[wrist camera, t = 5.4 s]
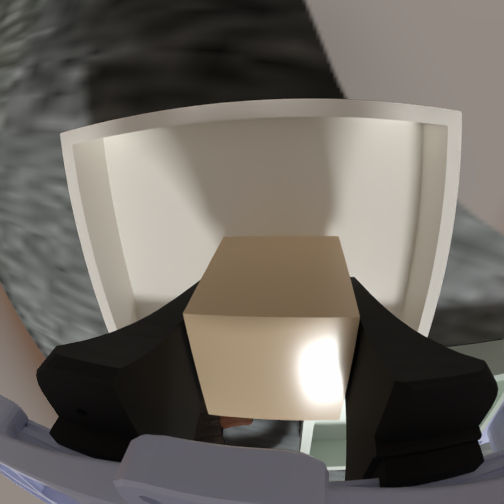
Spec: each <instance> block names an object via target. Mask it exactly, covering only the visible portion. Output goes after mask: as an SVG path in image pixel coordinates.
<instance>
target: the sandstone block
mask: <svg viewBox="0 0 504 504" xmlns="http://www.w3.org/2000/svg"><path fill="white" fill-rule="evenodd" d="M183 316H184V321H185V325H186V329H187V334H188V338H189V342H190V346H191V350H192V354H193V358H194V362H195V366H196V370H197V374H198V378H199V382H200V385H201V389H202V393H203V396H204V400H205V403H206V407H207V410H208V414H210V415H219V416H229V417H240V418H254V419H271V420H339V419H340V415H341V411H342V406H343V402H344V398H345V393H346V389H347V384H348V380H349V375H350V370H351V365H352V360H353V355H354V349H355V344H356V338H357V332H358V326H359V320H360V315H359V311H358V307H357V303H356V299H355V295H354V291H353V287H352V283H351V279H350V275H349V272H348V268H347V264H346V261H345V257H344V253H343V250H342V246H341V243H340V239H339V236H241V237H223V239H222V241H221V242H220V244H219V246H218V248H217V250H216V252H215V254H214V255H213V257H212V259H211V261H210V263H209V265H208V267H207V269H206V270H205V272H204V274H203V276H202V278H201V280H200V282H199V284H198V286H197V287H196V289H195V291H194V293H193V295H192V297H191V299H190V301H189V303H188V305H187V307H186V309H185V310H184V312H183Z"/></svg>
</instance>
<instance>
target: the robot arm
mask: <svg viewBox="0 0 504 504" xmlns="http://www.w3.org/2000/svg"><path fill="white" fill-rule="evenodd" d="M350 279H351V283H352V287H353V291H354V295H355V299H356V303H357V307H358V311H359V315H360V320H359V326H358V332H357V338H356V344H355V349H354V355H353V360H352V365H351V370H350V375H349V380H348V384H347V389H346V393H345V407H346V473H345V481H331V482H329V472H328V470H327V467H326V464H325V463H324V462H322V461H321V460H319V459H316V458H314V457H312V456H310V455H308V454H306V453H303V452H295V451H288V450H282V449H267V448H252V447H240V446H230V445H222V444H214V443H206V442H199V441H194V437H195V432H196V427H197V422H198V417H199V413H200V408H201V404H202V400H203V393H202V389H201V385H200V382H199V378H198V374H197V370H196V366H195V362H194V358H193V354H192V350H191V346H190V342H189V338H188V334H187V329H186V325H185V321H184V316H183V312H184V310H185V309H186V307H187V305H188V303H189V301H190V299H191V297H192V295H193V293H194V291H195V289H196V287H197V286H198V284H199V282H200V281H198V282H197V283H195V284H194V285H193V286H191V287H190V288H189V289H187V290H186V291H185V292H183V293H182V294H180V295H179V296H178V297H176V298H175V299H173V300H172V301H170V302H169V303H167V304H166V305H164V306H163V307H161V308H160V309H158V310H157V311H155V312H153V313H152V314H150V315H148V316H146V317H144V318H142V319H140V320H138V321H137V322H134V323H132V324H130V325H128V326H125V327H123V328H120V329H118V330H116V331H113V332H111V333H108V334H105V335H102V336H99V337H95V338H92V339H88V340H84V341H80V342H75V343H70V344H65V345H59V346H56V347H55V348H54V350H53V351H52V352H51V353H50V355H49V356H48V357H47V358H46V359H45V361H44V362H43V363H42V364H41V366H40V367H39V368H38V369H37V374H36V377H37V381H38V384H39V386H40V388H41V390H42V392H43V393H44V395H45V396H46V398H47V400H48V401H49V403H50V404H51V406H52V407H53V408H54V410H55V411H56V413H57V414H58V416H59V417H58V419H57V421H56V422H55V424H54V425H53V427H52V429H49V428H47V427H45V426H42V425H40V424H38V423H36V422H34V421H32V420H29V419H28V417H27V415H26V414H25V412H24V411H23V410H22V409H21V407H19V406H18V405H17V404H16V403H14V402H13V401H11V400H9V399H7V398H5V397H3V396H1V395H0V472H1V473H2V474H3V475H4V476H5V477H7V478H8V479H10V480H11V481H13V482H14V483H15V484H17V485H18V486H20V487H22V488H23V489H25V490H26V491H28V492H29V493H31V494H32V495H34V496H36V497H37V498H39V499H40V500H42V501H44V502H45V503H47V504H504V401H503V403H502V404H501V406H500V407H499V409H498V410H497V412H496V413H495V415H494V416H493V417H492V419H491V420H490V422H489V423H488V425H487V426H486V427H485V429H484V430H483V431H482V433H481V430H480V427H479V425H480V424H481V422H482V421H483V419H484V418H485V416H486V415H487V413H488V412H489V410H490V409H491V407H492V406H493V404H494V402H495V400H496V398H497V394H498V385H497V382H496V380H495V378H494V376H493V374H492V372H491V370H490V369H489V367H488V365H487V363H486V362H485V361H484V360H481V359H478V358H475V357H471V356H468V355H465V354H462V353H459V352H457V351H454V350H452V349H450V348H447V347H445V346H443V345H441V344H439V343H437V342H435V341H433V340H431V339H429V338H427V337H425V336H424V335H422V334H420V333H419V332H417V331H415V330H414V329H412V328H411V327H409V326H408V325H407V324H405V323H404V322H402V321H401V320H400V319H398V318H397V317H396V316H394V315H393V314H392V313H391V312H390V311H389V310H387V309H386V308H385V307H384V306H383V305H382V304H381V303H380V302H379V301H378V300H376V299H375V298H374V297H373V296H372V295H371V294H370V293H369V292H368V290H367V289H366V288H365V287H364V286H363V285H362V284H361V283H360V282H359V281H358V280H357V279H356V278H355V277H350ZM487 442H490V445H491V448H492V451H493V454H489V455H486V456H483V454H482V451H481V448H480V444H484V443H487Z"/></svg>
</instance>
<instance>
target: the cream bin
mask: <svg viewBox="0 0 504 504" xmlns="http://www.w3.org/2000/svg"><path fill="white" fill-rule="evenodd" d="M60 137H61V144H62V152H63V159H64V165H65V171H66V177H67V183H68V188H69V193H70V199H71V203H72V208H73V213H74V217H75V222H76V226H77V230H78V234H79V238H80V242H81V246H82V250H83V254H84V257H85V261H86V265H87V268H88V272H89V275H90V278H91V282H92V285H93V288H94V291H95V294H96V297H97V300H98V303H99V306H100V309H101V312H102V315H103V318H104V321H105V324H106V326H107V329H108V332H109V333H111V332H113V331H116V330H118V329H120V328H123V327H125V326H128V325H130V324H132V323H134V322H137V321H138V320H140V319H142V318H144V317H146V316H148V315H150V314H152V313H153V312H155V311H157V310H158V309H160V308H161V307H163V306H164V305H166V304H167V303H169V302H170V301H172V300H173V299H175V298H176V297H178V296H179V295H180V294H182V293H183V292H185V291H186V290H187V289H189V288H190V287H191V286H193V285H194V284H195V283H197V282H198V281H200V280H201V278H202V276H203V274H204V272H205V270H206V269H207V267H208V265H209V263H210V261H211V259H212V257H213V255H214V254H215V252H216V250H217V248H218V246H219V244H220V242H221V241H222V239H223V237H241V236H339V239H340V243H341V246H342V250H343V253H344V257H345V261H346V264H347V268H348V272H349V275H350V277H355V278H356V279H357V280H358V281H359V282H360V283H361V284H362V285H363V286H364V287H365V288H366V289H367V290H368V292H369V293H370V294H371V295H372V296H373V297H374V298H375V299H376V300H378V301H379V302H380V303H381V304H382V305H383V306H384V307H385V308H386V309H387V310H389V311H390V312H391V313H392V314H393V315H394V316H396V317H397V318H398V319H400V320H401V321H402V322H404V323H405V324H407V325H408V326H409V327H411V328H412V329H414V330H415V331H417V332H419V333H420V334H422V335H424V336H425V337H428V334H429V331H430V327H431V324H432V320H433V317H434V313H435V310H436V306H437V302H438V298H439V295H440V290H441V286H442V282H443V278H444V273H445V269H446V264H447V259H448V254H449V249H450V243H451V237H452V231H453V225H454V218H455V211H456V203H457V195H458V185H459V174H460V159H461V137H462V112H461V111H456V110H450V109H443V108H436V107H429V106H422V105H413V104H404V103H395V102H384V101H370V100H352V99H271V100H252V101H238V102H226V103H216V104H207V105H198V106H190V107H183V108H176V109H169V110H163V111H157V112H151V113H145V114H140V115H135V116H130V117H125V118H120V119H115V120H111V121H106V122H102V123H98V124H94V125H89V126H85V127H82V128H78V129H74V130H70V131H67V132H63V133H60Z"/></svg>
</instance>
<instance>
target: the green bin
mask: <svg viewBox="0 0 504 504" xmlns="http://www.w3.org/2000/svg"><path fill="white" fill-rule="evenodd" d="M447 348H450V349H452V350H454V351H457V352H459V353H462V354H465V355H468V356H471V357H475V358H478V359H481V360H484V361H485V362H486V363H487V365H488V367H489V369H490V370H491V372H492V374H493V376H494V378H495V380H496V382H497V385H498V394H497V398H496V400H495V402H494V404H493V406H492V407H491V409H490V410H489V412H488V413H487V415H486V416H485V418H484V419H483V421H482V422H481V424H480V425H479V427H480V430H481V433H482V431H483V430H484V429H485V427H486V426H487V425H488V423H489V422H490V420H491V419H492V417H493V416H494V415H495V413H496V412H497V410H498V409H499V407H500V406H501V404H502V403H503V401H504V339H503V340H497V341H490V342H483V343H476V344H469V345H461V346H452V347H447ZM299 452H303V453H306V454H308V455H310V456H312V457H314V458H316V459H319V460H321V461H322V462H324V463H325V464H326V467H327V470H344V469H346V407H345V398H344V402H343V406H342V411H341V415H340V419H339V420H302V421H301V431H300V445H299Z"/></svg>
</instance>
